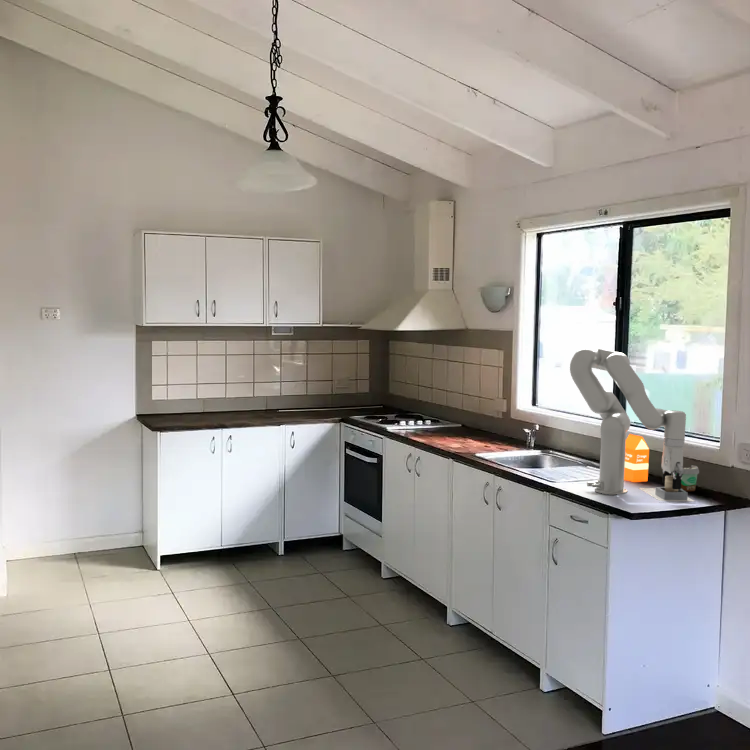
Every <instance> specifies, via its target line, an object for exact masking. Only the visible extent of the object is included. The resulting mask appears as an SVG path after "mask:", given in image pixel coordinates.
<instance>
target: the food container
mask: <svg viewBox="0 0 750 750" xmlns="http://www.w3.org/2000/svg"><path fill="white" fill-rule="evenodd" d="M699 474H700V469H699V467H698V466H697V465H692V464H691V466H690V467H683V475H682V480H681V489H682V490H684V491H686V492H695V491H696V488H697V480H698V475H699ZM676 475H677V474H676Z"/></svg>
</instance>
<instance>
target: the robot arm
mask: <svg viewBox="0 0 750 750" xmlns="http://www.w3.org/2000/svg"><path fill="white" fill-rule="evenodd" d="M593 369H596V370H601V371H606V372H607V373H608V375H609V376H610V377H611V378H612V380H613V381H614V383H615V384H616V385H617V387H618V388H619V390H620V391H621V392H622V394H623V396H624V397H625V400H626V401H627V403H628V405H629V406H630V408H631V410H632V411H633V412H634V415H635V416H636V417H637V418H638V420H639V421H640V423H641V424H642V425H643V426H644V427H645V428H646V429H648V430H652V431H654V430H657V429H660V428H664V433H663V449H662V456H661V465H660V466H661V470H662V482H661V483H662V484H664V485H665V476H674V479H673V484H672V489H681V480H682V475H683V468H684V450H683V449H684V448H685V439H686V422H687V414H686V413H685V412H684V411H681V410H667V409H662V408H658V407H657V408H656V407H655V406H654V405H653V403H652V402H651V400H650V398H649V397H648V395H647V393H646V389H645V386H644V383H643V381H642V379H641V378H640V376H638V374H637V373H636V371H635V370H634V369H633V368H632V366H631V362H630V358H629V357H628V356H627V355H626V354H625V353H623V352H619V351H613V350H608V349H604V348H599V347H594V346H588V347H582V348H580V349H578V350H577V351H576V352H575V353H574V355H573V356H572V359H571V361H570V364H569V372H570V376H571V378H572V380H573V382H574V384H575V385H576V387H577V390H579V393H580V394H581V395H582V397H583V399H584V401H585V403H587V405H588V408H589V409H590V410H591V412H593V413H594V414H597V415H599V416H600V418H601V419H602V421H601V424H600V458H599V459H600V460H599V478H598V479H596V480H595V481H587V482H586V486H587V487H592V488H594V491H595V492H597V493H598V494H601V493H602V495H607V494H609V495H610V496H618V495H622V494H623V495H624V494H627V493H628V489H626V488H624V487H625V485H624V484H625V480H624V470H625V449H626V439H627V438H626V434H627V432H628V430H629V429H630V427H631V420H630V417H629V415H628V413H627V412H626V410H625V409H624V408H623V406H622V405H621V402H620V401H619V399H618V397H617V396H616V395H615V394H614V393H613V392H612V391H611V390H610V389H606V388H604V387H603V385H602V384H601V382H600V381H599V379H598V377H597V375H595V373H594V372H593ZM676 474H677V475H676Z"/></svg>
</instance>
